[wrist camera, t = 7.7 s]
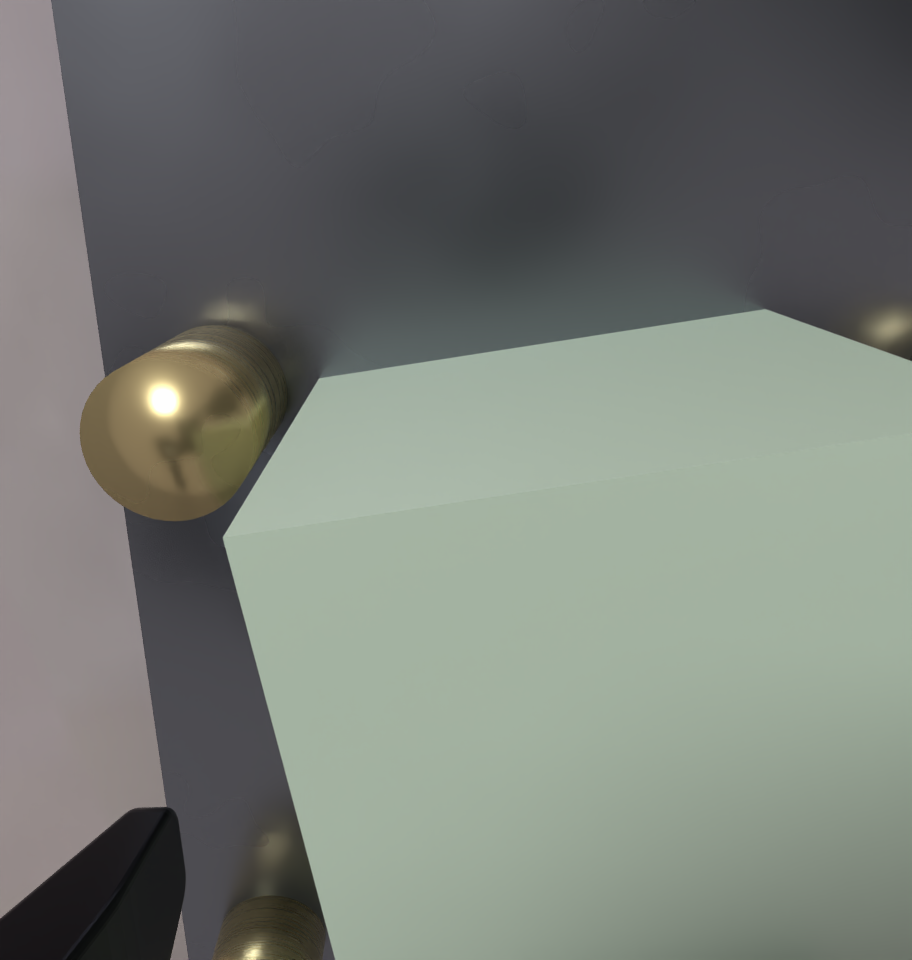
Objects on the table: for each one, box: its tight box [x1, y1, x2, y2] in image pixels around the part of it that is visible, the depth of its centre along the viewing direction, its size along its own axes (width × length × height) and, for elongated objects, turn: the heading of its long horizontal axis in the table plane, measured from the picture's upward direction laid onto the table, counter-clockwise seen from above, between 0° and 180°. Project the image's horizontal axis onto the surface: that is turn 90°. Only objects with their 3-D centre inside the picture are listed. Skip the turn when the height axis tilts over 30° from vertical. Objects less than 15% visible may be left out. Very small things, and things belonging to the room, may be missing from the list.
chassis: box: [51, 0, 912, 960], centre depth 10 cm, size 11×16×3 cm
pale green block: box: [223, 309, 912, 960], centre depth 8 cm, size 5×9×5 cm, turn 9°
